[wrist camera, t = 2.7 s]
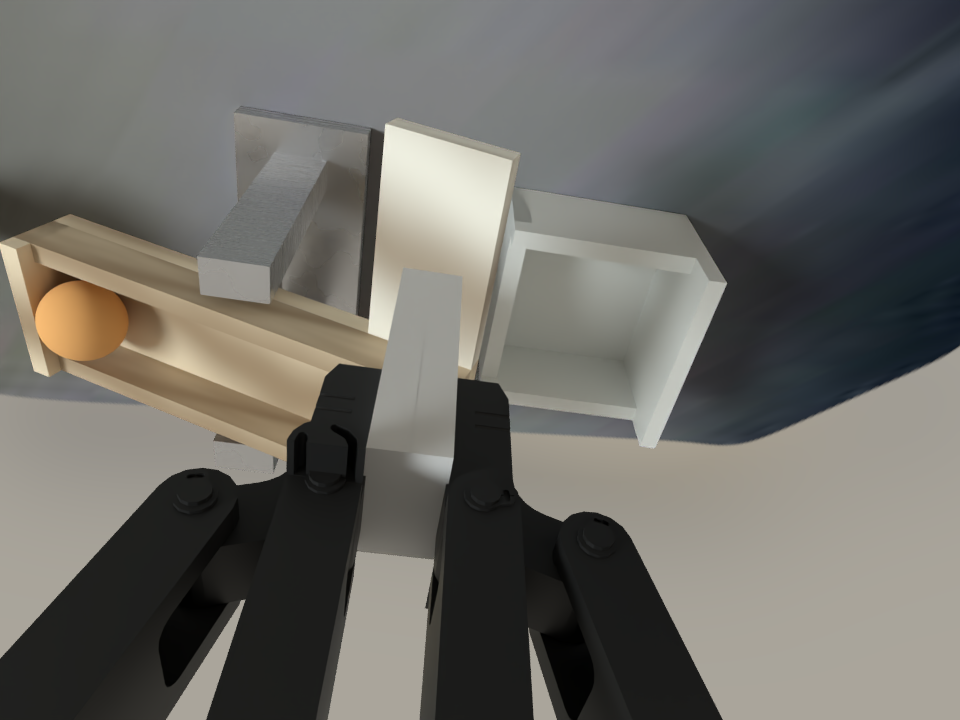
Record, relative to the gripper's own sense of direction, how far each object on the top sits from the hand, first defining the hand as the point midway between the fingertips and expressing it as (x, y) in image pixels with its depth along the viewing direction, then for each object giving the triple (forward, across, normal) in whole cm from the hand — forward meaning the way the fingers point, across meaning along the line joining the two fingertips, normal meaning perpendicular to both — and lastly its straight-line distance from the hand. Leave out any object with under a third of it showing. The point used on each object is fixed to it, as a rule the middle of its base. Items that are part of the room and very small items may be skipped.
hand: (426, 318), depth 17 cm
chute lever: (+9, -6, -4) cm, 11 cm away
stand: (+17, -7, -7) cm, 20 cm away
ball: (+8, -13, -7) cm, 17 cm away
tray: (+17, +8, -7) cm, 20 cm away
